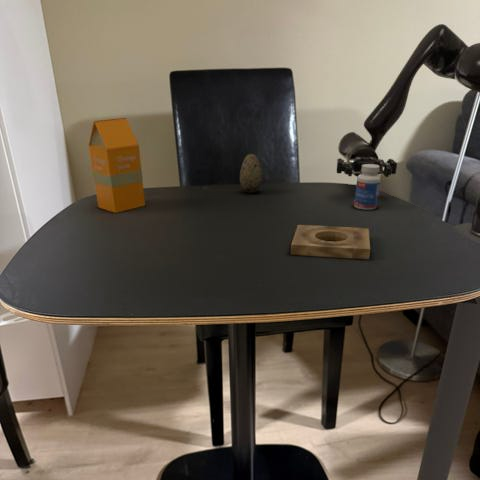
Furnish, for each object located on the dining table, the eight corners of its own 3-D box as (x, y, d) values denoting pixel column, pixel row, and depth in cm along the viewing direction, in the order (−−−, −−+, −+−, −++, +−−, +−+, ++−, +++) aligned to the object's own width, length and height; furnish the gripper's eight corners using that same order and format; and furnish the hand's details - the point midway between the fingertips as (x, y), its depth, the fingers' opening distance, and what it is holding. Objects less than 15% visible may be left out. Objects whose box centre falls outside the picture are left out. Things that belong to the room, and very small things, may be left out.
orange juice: (145, 205, 119) (136, 118, 110) (115, 213, 114) (102, 122, 104) (127, 200, 124) (117, 116, 114) (97, 207, 118) (83, 119, 109)
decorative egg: (237, 194, 128) (237, 155, 123) (242, 189, 133) (242, 151, 128) (259, 195, 127) (260, 156, 122) (263, 190, 132) (264, 152, 127)
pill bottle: (351, 208, 114) (355, 166, 110) (356, 203, 119) (361, 162, 114) (374, 211, 112) (380, 168, 108) (379, 205, 117) (384, 164, 112)
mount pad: (367, 237, 96) (368, 228, 95) (369, 259, 85) (370, 249, 84) (297, 234, 98) (297, 224, 97) (290, 254, 88) (291, 244, 87)
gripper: (387, 174, 128) (397, 188, 114) (333, 173, 129) (336, 187, 115) (391, 145, 124) (402, 155, 110) (335, 144, 126) (339, 155, 112)
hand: (368, 172), depth 113 cm, fingers open, 8 cm apart
